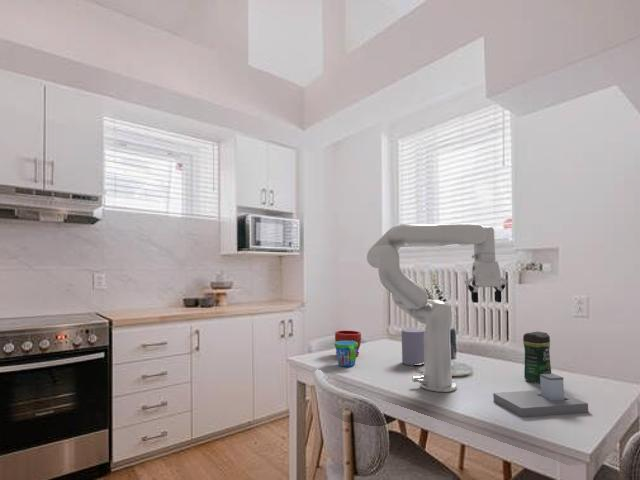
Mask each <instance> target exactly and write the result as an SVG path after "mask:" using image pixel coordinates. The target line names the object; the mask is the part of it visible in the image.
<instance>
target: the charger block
mask: <svg viewBox="0 0 640 480" xmlns="http://www.w3.org/2000/svg"><path fill="white" fill-rule="evenodd" d="M539 384H540V390H541V397H543V398H545V399H548V400H550V401H560V400H564V394H565V388H564V387H565V386H564V377H563V376H560V375H558V374H555V373H551V374H540V383H539Z"/></svg>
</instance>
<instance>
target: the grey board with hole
mask: <svg viewBox="0 0 640 480" xmlns="http://www.w3.org/2000/svg"><path fill="white" fill-rule="evenodd" d="M492 395H493V396H492V397H493V402H494V403H496V404H498V405H500V406H503V408H505V409H507V410H509V411H511V412H513V413H515V414H516V415H518V416H519V417H521V418H526V417H527V418H528V417H541V416H553V415H565V414H567V415H569V414H577V413H578V414H579V413H589V403H588V402H586V401H583V400H581V399H578V398H576V397H574V396H571V395H569V394H566V393H564V400H560V401H550V400H548V399H545V398H543V397H541V389H536V390H534V389H533V390H518V391H506V392H493V393H492Z"/></svg>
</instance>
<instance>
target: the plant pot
mask: <svg viewBox="0 0 640 480" xmlns="http://www.w3.org/2000/svg"><path fill="white" fill-rule="evenodd" d="M334 341H335V342H338V341H355V342H357V343H358V346H357V351H356V357H358V356H359V355H360V352H359V349H360V347H361V341H362V333H361V332H360V331H356V330H337V331H334ZM335 342H334V343H335ZM335 354H336V355H337V352H336V351H335Z"/></svg>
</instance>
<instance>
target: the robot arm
mask: <svg viewBox="0 0 640 480" xmlns="http://www.w3.org/2000/svg"><path fill="white" fill-rule="evenodd" d="M495 241H496V240H495V230H494V227H492V226H490V225H489V226H487V225H486V226H483V225H481V224H478V223H447V224H446V223H445V224H444V223H435V224H433V223H431V224H430V223H429V224H428V223H427V224H426V223H425V224H424V223H423V224H422V223H421V224H420V223H417V224H416V223H415V224H414V223H405V224H400V225H395V226H393V227H391V228H390V229H388V230H387V231H386V232H385V233H384V234H383V235H381V237H380V238H379V239H378V240H377V241H376V242H375V243H374V244H373V245H372V246H371V247H370V248H369V250H368V251H367V254H366V261H367V263H368V265H370V266H371V267H372V268H375V269H377V271H378V278H379V281H380V282H381V285H382V286H383V287H384V288H385V289H386V290H387V291H388V292H389V293H391V298H392V300H393V302H394V304H395V305H396V306H397V307H398V308H400V310H402V311H403V312H404V313H406V314H407V315H408V316H410V317H412V318H413V319H414V320H416V321H417V322H419V323H422V324H425V328H424V372H422V373H421V375H420V376H416V375H415V376H412V377H411V381H412V382H413V383H418V384H420V387H422V389H425V390H427V391H430V392H431V391H432V392H439V393H449V392H454V391H456V390H457V387H458V386H457V384H456V383H455V382H453V378H452V377H453V376H452V373H453V371H452V351H451V350H452V349H451V328H452V322H453V312H452V309H451V307H450V306H449V305H448V304H447V303H446V302H445V301H442V300H439V299H429V296H428V294H427V293H428V292H426V290H425V288H423V287H422V286H420V285H419V284H418V283H416V282H415V281H414V280H413V279H411V278H410V277H409V276H407V274H405V273H404V272H403V271H402V268H401V265H400V253H399V251H398V250H400V249H401V248H408V247H409V248H412V247H413V248H419V247H421V248H423V247H425V248H426V247H431V248H435V247H445V246H450V245H457V246H458V245H459V246H471V245H473V254H471V259H473V260H474V261H473V262H472V268H471V276H470V277H469V278H466V279H465V280H464V284H465V286H466V288H467V289H468V291H469V292H470V294H471V295H470V296H471V301H472V303H475V304H476V303H479V292H478V290H479V289H480V288H493V289H494V302H496V303H502V298H503V297H502V292H503V291H504V289H505V288H506V284H507V282H508V280H507V279H505V278H504V277H502V276H501V275H502V274H501V269H500V265H499V262H498V261H496V247H495V246H496V242H495ZM471 284H472V285H471Z"/></svg>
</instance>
